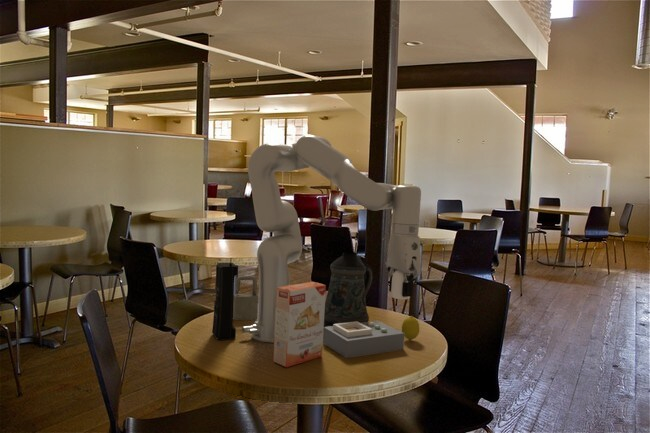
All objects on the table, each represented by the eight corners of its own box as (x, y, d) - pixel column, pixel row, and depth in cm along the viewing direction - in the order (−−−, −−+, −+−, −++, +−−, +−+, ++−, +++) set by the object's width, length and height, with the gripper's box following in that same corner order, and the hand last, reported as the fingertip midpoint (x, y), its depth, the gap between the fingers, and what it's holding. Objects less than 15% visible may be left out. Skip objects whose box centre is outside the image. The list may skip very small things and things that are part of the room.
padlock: (232, 317, 184) (233, 275, 182) (255, 316, 187) (256, 274, 185) (234, 320, 180) (235, 277, 179) (258, 319, 183) (259, 276, 182)
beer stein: (313, 328, 175) (316, 254, 173) (331, 314, 194) (334, 246, 192) (361, 335, 170) (365, 258, 168) (375, 319, 189) (378, 250, 186)
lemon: (420, 339, 168) (422, 315, 167) (416, 344, 163) (417, 319, 162) (403, 336, 170) (405, 312, 170) (398, 341, 165) (400, 316, 165)
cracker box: (287, 369, 139) (290, 290, 137) (272, 362, 143) (275, 286, 141) (323, 356, 149) (327, 284, 147) (308, 351, 153) (311, 280, 151)
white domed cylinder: (390, 294, 151) (391, 266, 150) (408, 295, 151) (410, 267, 150) (391, 298, 146) (393, 270, 145) (411, 299, 145) (413, 271, 145)
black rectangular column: (210, 333, 166) (212, 254, 163) (229, 331, 168) (232, 254, 166) (216, 340, 158) (218, 258, 156) (235, 339, 161) (238, 258, 159)
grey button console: (346, 358, 148) (347, 335, 148) (322, 342, 161) (323, 322, 160) (403, 349, 158) (404, 328, 157) (377, 335, 170) (378, 316, 170)
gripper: (435, 233, 141) (430, 300, 142) (397, 226, 156) (393, 286, 157) (413, 234, 137) (408, 302, 139) (376, 226, 152) (372, 287, 154)
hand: (400, 293), depth 148 cm, fingers closed on white domed cylinder, 5 cm apart
